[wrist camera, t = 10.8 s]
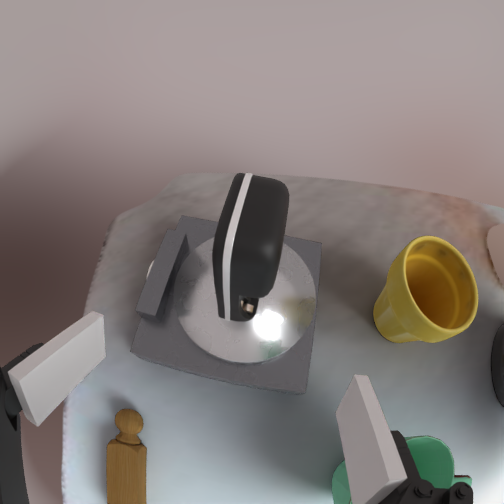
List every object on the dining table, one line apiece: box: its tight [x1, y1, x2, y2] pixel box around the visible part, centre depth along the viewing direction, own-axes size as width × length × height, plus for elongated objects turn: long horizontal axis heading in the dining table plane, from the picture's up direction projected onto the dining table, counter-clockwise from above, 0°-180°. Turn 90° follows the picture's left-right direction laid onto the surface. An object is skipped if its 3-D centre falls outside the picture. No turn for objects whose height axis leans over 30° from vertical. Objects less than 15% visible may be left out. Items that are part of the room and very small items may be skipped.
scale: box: [130, 216, 322, 395], centre depth 27 cm, size 16×16×5 cm
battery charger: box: [212, 173, 289, 322], centre depth 20 cm, size 7×4×11 cm, turn 169°
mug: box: [332, 436, 472, 504], centre depth 15 cm, size 15×10×10 cm
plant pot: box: [373, 236, 478, 343], centre depth 25 cm, size 10×10×10 cm
